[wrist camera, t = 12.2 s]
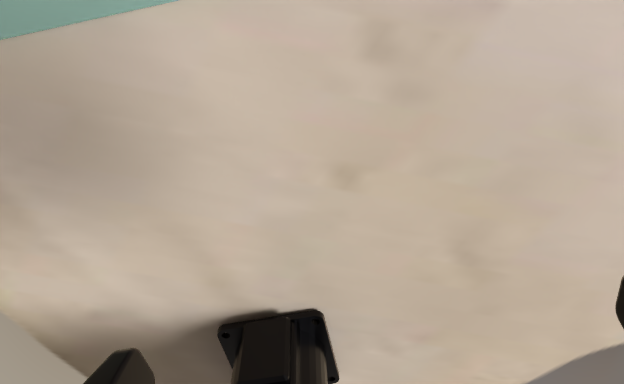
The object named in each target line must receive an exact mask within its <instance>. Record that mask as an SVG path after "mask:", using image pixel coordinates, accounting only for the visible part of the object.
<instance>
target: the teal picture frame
mask: <svg viewBox="0 0 624 384" xmlns="http://www.w3.org/2000/svg"><path fill="white" fill-rule="evenodd" d="M173 1H178V0H0V40H2V39H7V38H11V37H16V36H20V35H25V34H29V33H34V32H38V31H43V30H47V29H52V28H56V27H61V26H65V25H70V24H74V23H79V22H83V21H88V20H92V19H97V18H101V17H106V16H110V15H115V14H119V13H124V12H128V11H133V10H137V9H142V8H146V7H151V6H155V5H160V4H164V3H169V2H173Z"/></svg>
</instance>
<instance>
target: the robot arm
mask: <svg viewBox="0 0 624 384" xmlns="http://www.w3.org/2000/svg"><path fill="white" fill-rule="evenodd" d="M616 314H617V317H618V319H619V321H620V323H621V325H622V327H623V329H624V276H623V277H622V280H621V284H620V288H619V293H618V297H617V301H616ZM314 319H317V320H314ZM217 335H218V338H219V341H220V343H221V345H222V347H223V349H224V351H225V354H226V356H227V358H228V360H229V362H230V365H231V367H232V369H233V373H232V379H231V384H333V383H336V382H338V381H339V372H338V368H337V364H336V361H335V357H334V353H333V349H332V345H331V341H330V337H329V334H328V330H327V326H326V322H325V318H324V315H323V313H321V312H320V311H310V312H303V313H297V314H290V315H284V316H277V317H271V318H265V319H258V320H252V321H245V322H239V323H232V324H226V325H222V326H220V327H219V329H218V334H217ZM84 384H155V379H154V374H153V372H152V370H151V369H150V367H149V365H148V364H147V362H146V361H145V359H144V357H143V356H142V354H141V352H140V351H139V350H138V349H136V348H130V349H123V350H118V351H115V352H114V353H112V354H111V355H110V356H109V357H108V358H107V359H106V360H105V361H104V362H103V363H102V365H101V366H100V367H99V368H98V369H97V370H96V371H95V372H94V373H93V374H92V375H91V376H90V377H89V378H88V379H87V380H86V381H85V382H84Z"/></svg>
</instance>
